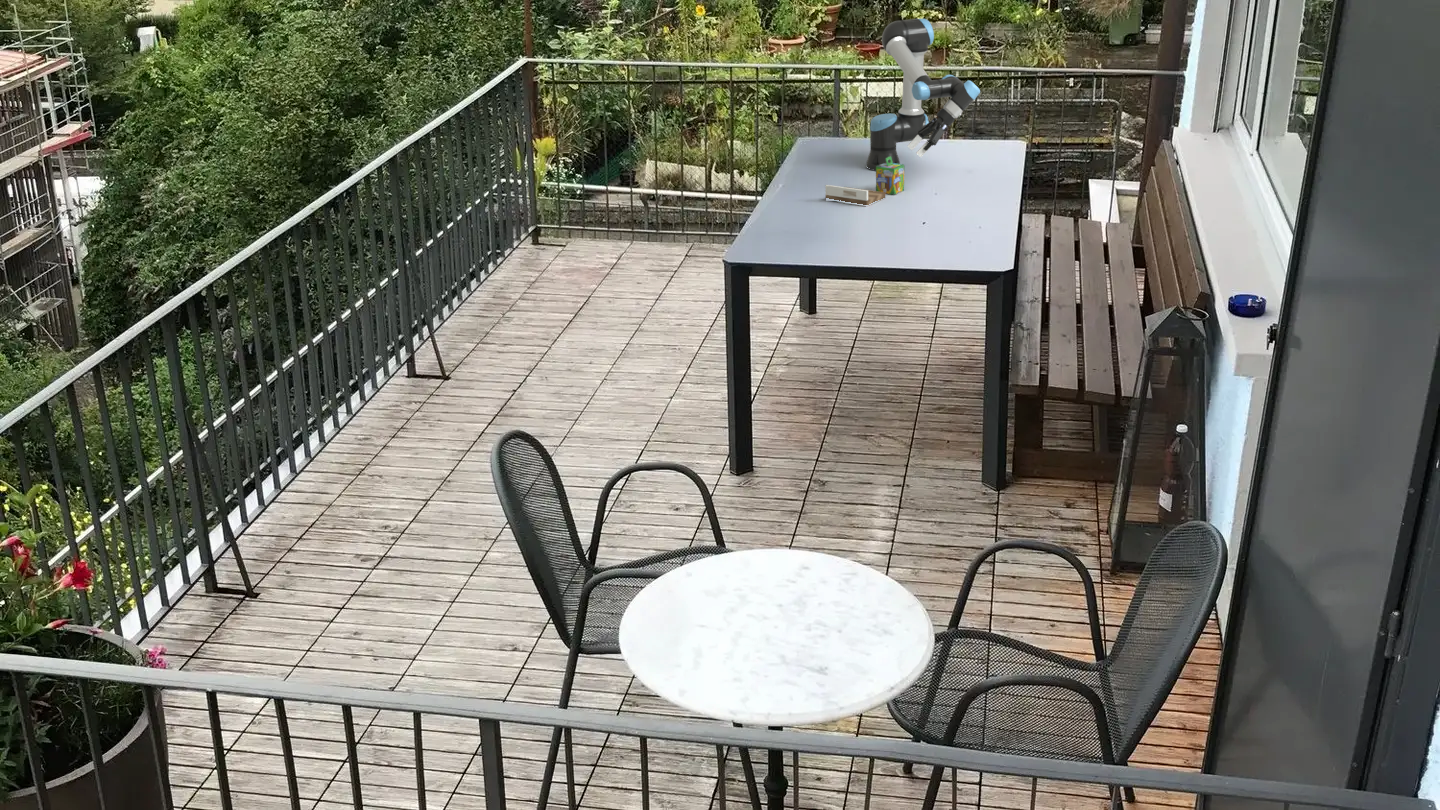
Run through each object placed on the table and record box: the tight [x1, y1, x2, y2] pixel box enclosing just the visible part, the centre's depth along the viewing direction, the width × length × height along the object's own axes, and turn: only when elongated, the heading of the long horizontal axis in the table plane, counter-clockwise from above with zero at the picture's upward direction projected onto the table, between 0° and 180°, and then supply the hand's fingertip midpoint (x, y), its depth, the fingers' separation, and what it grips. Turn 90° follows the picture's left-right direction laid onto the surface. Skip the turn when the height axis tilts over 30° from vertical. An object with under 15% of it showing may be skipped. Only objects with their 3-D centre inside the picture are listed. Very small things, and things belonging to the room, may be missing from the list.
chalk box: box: [875, 156, 905, 196], centre depth 572 cm, size 9×9×15 cm
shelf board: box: [824, 184, 886, 206], centre depth 564 cm, size 15×20×6 cm
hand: (913, 151), depth 569 cm, fingers open, 13 cm apart
